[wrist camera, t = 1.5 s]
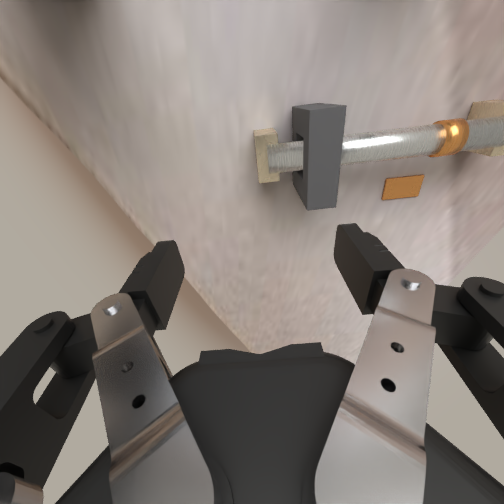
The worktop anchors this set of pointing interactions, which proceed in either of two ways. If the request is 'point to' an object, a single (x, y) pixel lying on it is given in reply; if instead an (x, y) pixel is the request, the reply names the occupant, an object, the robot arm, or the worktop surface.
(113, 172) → the worktop surface
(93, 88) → the worktop surface
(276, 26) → the worktop surface
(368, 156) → the pipe
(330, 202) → the collar
